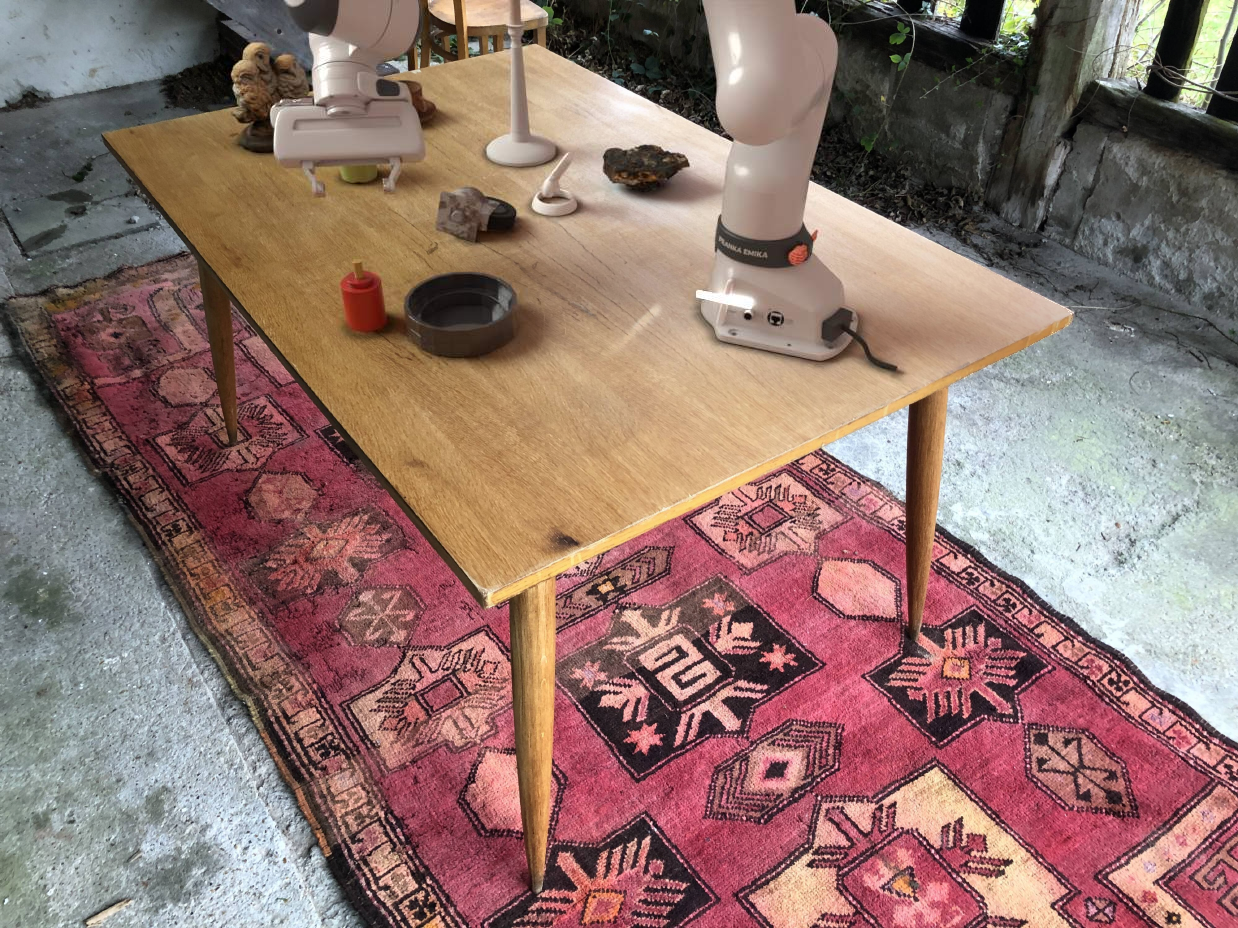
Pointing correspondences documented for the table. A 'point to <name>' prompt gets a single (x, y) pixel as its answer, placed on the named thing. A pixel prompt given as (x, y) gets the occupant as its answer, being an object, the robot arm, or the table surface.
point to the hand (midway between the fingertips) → (354, 194)
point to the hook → (555, 192)
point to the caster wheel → (472, 213)
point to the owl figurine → (264, 92)
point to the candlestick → (519, 110)
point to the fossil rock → (642, 166)
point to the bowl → (461, 314)
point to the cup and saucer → (420, 101)
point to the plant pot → (358, 173)
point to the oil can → (363, 299)
